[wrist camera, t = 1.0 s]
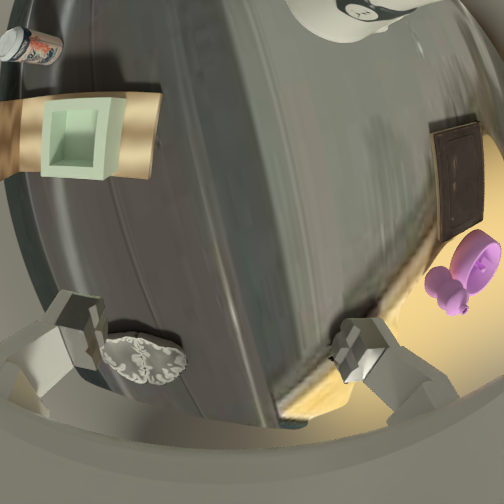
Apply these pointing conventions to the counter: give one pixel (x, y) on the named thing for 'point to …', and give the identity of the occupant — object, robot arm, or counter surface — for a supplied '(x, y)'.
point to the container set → (464, 272)
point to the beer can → (29, 46)
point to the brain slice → (144, 357)
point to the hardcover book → (458, 178)
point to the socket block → (82, 137)
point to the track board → (32, 109)
